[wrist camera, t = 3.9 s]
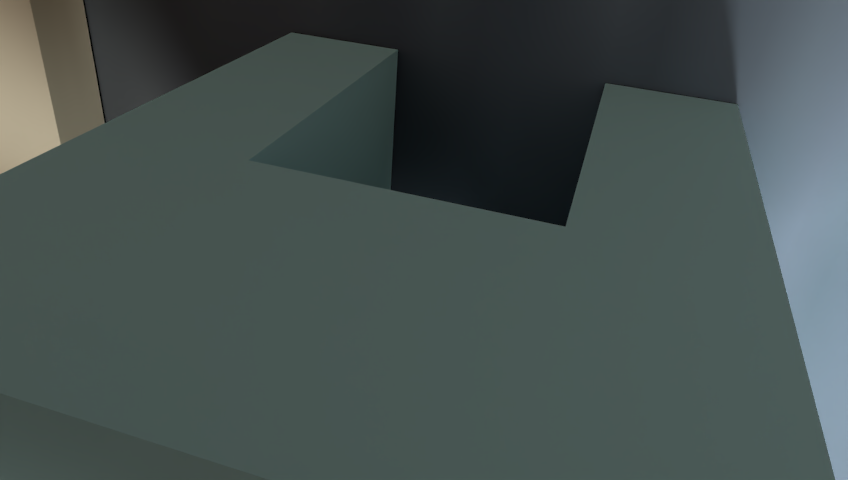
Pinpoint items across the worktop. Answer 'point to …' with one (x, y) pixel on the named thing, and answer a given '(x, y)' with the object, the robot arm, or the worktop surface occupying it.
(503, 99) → the worktop surface
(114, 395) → the block
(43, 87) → the cleat board
